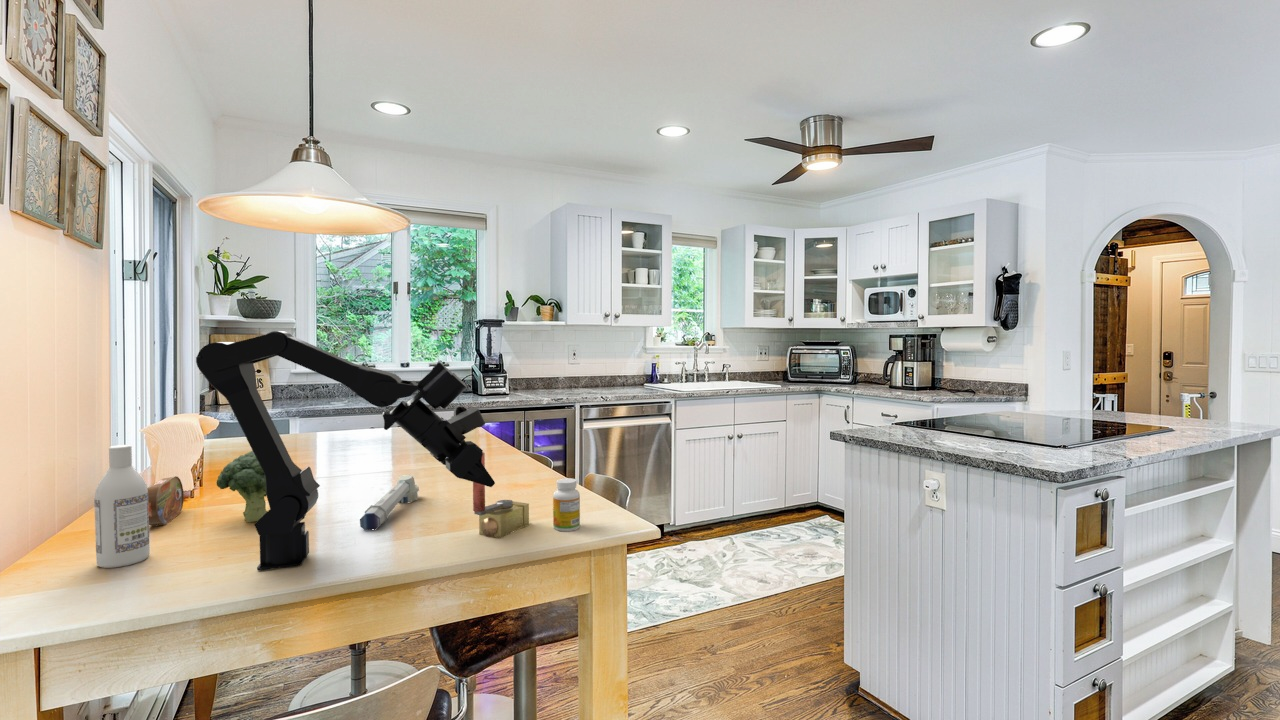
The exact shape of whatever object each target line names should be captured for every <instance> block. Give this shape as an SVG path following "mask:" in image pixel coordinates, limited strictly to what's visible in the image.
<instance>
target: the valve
mask: <svg viewBox="0 0 1280 720" xmlns="http://www.w3.org/2000/svg"><path fill="white" fill-rule="evenodd" d="M512 501H513V500H512ZM478 516H479V517H478V518H479V520H478V522H479V523H478V527H479V529H478V530H479V533H478V534H479V535H481V536H485V537H488V538H496V537H497V538H496V539H502V538H504V537H506V536H508V535H510V534H511V532H512V533H514V532H516V531H518V530H520V529H521V528H525V527H527V526H529V525H530V503H527V502H521V501H513V507H512V508H509V509H500V510H497V511H494V512H491V513H487V514H484V515H481V516H480V515H478ZM515 530H516V531H515ZM513 531H514V532H513Z"/></svg>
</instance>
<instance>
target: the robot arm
mask: <svg viewBox="0 0 1280 720" xmlns="http://www.w3.org/2000/svg"><path fill="white" fill-rule="evenodd" d="M277 356H278V357H280V358H282V359H285V360H287V361H289V362H291V363H294V364H296V365H298V366H300V367H303V368H305V369H308V370H311V371H312V372H315V373H317V374H319V375H322V376H324V377H326V378H328V379H331V380H334V381H335V382H338V383H341V384H342V385H344V386H345V387H347V388H348V389H350V390H351V391H352V392H353V393H355V395H357V396H358V397H360V398H361V399H363V400H365V401H367V402H368V403H370V404H371V405H372V406H375V407H377V408H386V407H389V406H392V405H393V404H394V403H396V402H397V401H399V400H400V399H404V398H408V397H409V398H410V397H411V396H412V395H413V394H414V393H415V392H417V391H419V392H417V394H415V395H414V396H413V397H412V398H411V399H409V400H408V401H404V400H402V401H401V402H400V403H398V404H397V405H396V406H395V407H394V408H393V409H392V410H390V411H383V412H382V417H383V421H384V422H383V429H384V430H385V431H388V430H389V429H390V428H391V427H392V426H393V425H394V424H396V425H398V426H399V427H400V428H401V429H403V431H405V432H406V433H407V434H408V435H409V436H410V437H412V438H413V439H414V441H416V442H418V443H419V444H420V445H421V446H422V447H424V448H425V449H426V450H427V452H429V455H431V456H432V457H433V458H434V459H435V460H436V461H438V462H439V463H440V464H442V465H443V466H445V468H446V470H448V471H449V472H450V473H452V474H453V475H454V476H455V477H456V478H457V479H460V480H465V481H469V482H472V483H473V482H475V483H479V484H482V485H485V487H489V488H492V487H494V486H495V484H496V482H495V480H494V479H493V477H492V475H491V474H490V473H489V472H488V470H487V469H486V466H485V467H484V466H483V464H482V456H483V452H484V451H483V449H482V448H480V447H479V446H478V445H477V444H476V443H474V442H473V441H472V440H467V441H466V440H465V439H467V437H466V436H465V435H466V434H468V433H470V432H472V431H474V430H475V429H478V428H481V427H484V426H485V424H486V421H485V420H484V417H483V415H482V413H481V411H480V409H479V408H477V407H473V406H472V407H471V406H470V407H468V409H467V408H465V407H464V406H463V405H459V406H456V407H455V408H454V409H453V416H451V417H450V418H449V419H448V420H447V419H446V418H444V417H442V416H441V417H440V416H439V415H438V414H437V413H436V412H435V411H433V410H432V409H431V408H430V407H432V408H433V409H434V410H438V408H440V407H441V409H443V410H445V409H446V408H447V407H448V406H449V405H451V403H453V402H454V401H455V399H457V398H458V397H459V396H460V395H461V394H462V393H463V392H464V391H465V390H467V388H468V386H467V384H466V383H465V382H464V381H462V379H461V378H460V377H459V376H457V374H456V373H455V372H452V371H451V370H449V368H447V366H444V365H443V363H442V362H440V361H439V362H437V363H436V365H434V366H433V367H432V369H431V370H430V372H428V373H427V374H426V375H425V376H424V377H423V378H422V379H421V380H420V381H415V380H404V379H402V378H401V377H400V376H399V375H397V374H395V373H393V372H389V371H386V370H382V369H377V368H373V367H370V366H364V365H360V364H357V363H354V362H352V361H349V360H347V359H345V358H343V357H340V356H338V355H336V354H334V353H331V352H329V351H326V350H324V349H323V348H320V347H317V346H316V345H313V344H310V343H308V342H306V341H304V340H302V339H300V338H298V337H295V336H294V335H292V334H291V333H290V332H287V331H284V330H283V331H282V330H280V331H279V330H277V331H275V330H273V331H269V332H267V333H265V334H262V335H259V336H256V337H252V338H247V339H244V340H239V341H234V342H232V341H219V342H218V341H217V342H216V341H215V342H211V343H208V344H206V345H204V346H203V347H202V348H201V349H200V350H199V352H198V354H197V356H196V357H195V363H196V367H197V369H198V370H199V371H200V372H201V374H202V375H203V376H204V378H205V379H206V380H207V382H208V383H209V384H210V385H211V386H212V387H213V388H214V389H215V390H216V391H217V392H219V394H221V396H223V397H224V398H225V399H226V401H227V402H228V405H229V406H230V408H231V411H232V413H233V414H234V416H235V418H236V420H237V423H238V424H239V426H240V428H241V430H242V433H243V434H244V436H245V438H246V441H247V442H248V444H249V446H250V448H251V451H252V450H253V452H254V454H255V456H256V458H257V460H258V462H259V464H260V466H261V468H262V470H263V472H264V475H265V483H266V499H267V504H268V506H269V509H268V510H267V511H268V512H267V513H265V514H264V515H263V516H262V517H261V518H260V519H259V520H258V521H257V522H254V527H255V530H256V531H257V534H258V535H259V564H258V565H257V567H256V570H257V571H266V570H267V571H268V570H275V569H277V570H278V569H284V568H292V567H299V566H302V565H303V563H304V561H305V560H306V559H307V558H308V556H309V553H310V537H309V536H310V533H309V532H310V531H309V530H306V522H305V521H303V520H304V519H305V518H306V515H307V513H309V512H310V510H312V509H313V507H314V506H315V505H316V504H317V501H318V499H319V491H318V489H319V488H320V487H321V485H320V484H319V483H318V482H317V481H316V480H315V478H314V475H313V472H312V469H311V467H310V466H307V467H305V468H304V469H301V468H300V467H299V466H298V465H297V464H296V463H295V462H293V459H292V457H291V456H290V454H289V452H288V450H287V448H286V446H285V443H284V442H283V440H282V437H281V435H280V433H279V431H278V430H277V427H276V426H275V424H274V421H273V419H272V417H271V416H270V413H269V411H268V410H267V407H266V406H265V403H264V401H263V399H262V396H261V395H260V393H259V390H258V388H257V379H256V378H257V376H256V375H257V374H256V369H255V366H254V364H258V363H259V362H262V361H266V360H269V359H271V358H275V357H277ZM421 399H423V400H424V401H425V402H426V403H425V402H424V401H422V400H421ZM427 404H428V405H429V406H430V407H429V406H428V405H427Z"/></svg>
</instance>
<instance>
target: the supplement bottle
mask: <svg viewBox="0 0 1280 720" xmlns="http://www.w3.org/2000/svg"><path fill="white" fill-rule="evenodd" d="M576 488H577V479H575V478H570V477H565V478H559V479H557V480H556V490H555V491H554V492H553V495H552V505H553V506H552V507H553V508H552V511H553V512H552V515H553V516H552V518H553V519H552V520H553V521H552V522H553V523H552V524H553V526H552V527H553V529H554V530H556V531H558V532H573V531H576V530H578V529H580V527H581V509H580V508H581V507H580V506H581V505H580V504H581V498H580V497H581V495H580V494H581V493H580V491H579V490H578V489H576Z"/></svg>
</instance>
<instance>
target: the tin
mask: <svg viewBox="0 0 1280 720" xmlns="http://www.w3.org/2000/svg"><path fill="white" fill-rule="evenodd" d="M183 487H184V486H183V483H182V481H181V479H180V477H179V476H172V477H164V478H161V479H160V480H158V481H156V482H155V483H153V484H152V485H150V486H147V489H148V507H149V527H150V526H151V527H155V526H156V525H157V526H161V525H162V526H163V525H164V526H166V525H168V524H169V523H171V522H172V520H174V519H175V518H176V517H178V516H179V515H180V514H181V512H182V511H183V506H184V499H185V498H184V497H185V496H184V488H183ZM167 523H168V524H167Z"/></svg>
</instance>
